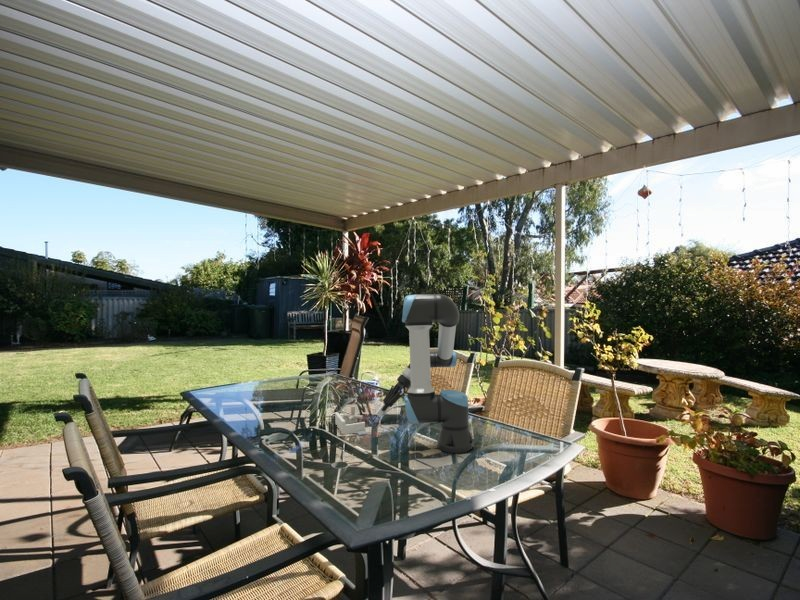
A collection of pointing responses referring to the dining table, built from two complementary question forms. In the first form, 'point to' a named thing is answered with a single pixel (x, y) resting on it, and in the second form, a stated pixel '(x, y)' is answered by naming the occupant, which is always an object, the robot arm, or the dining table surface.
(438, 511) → the dining table surface
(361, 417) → the pipe connector
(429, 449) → the dining table surface
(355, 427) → the dock
